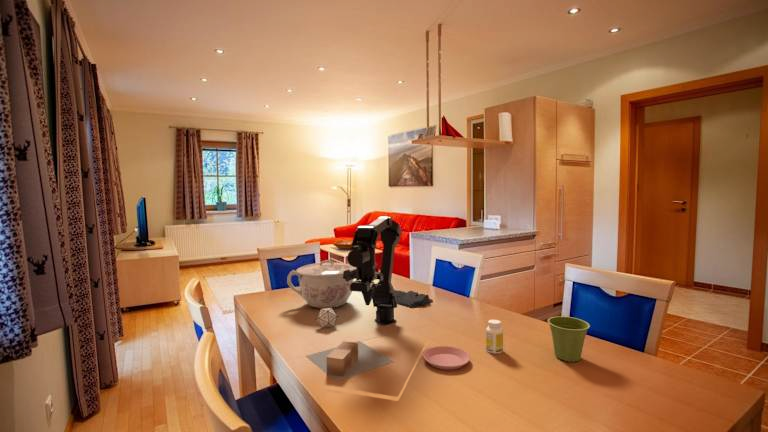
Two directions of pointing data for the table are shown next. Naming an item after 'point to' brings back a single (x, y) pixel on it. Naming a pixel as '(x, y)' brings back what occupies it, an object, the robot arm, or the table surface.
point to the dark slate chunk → (411, 299)
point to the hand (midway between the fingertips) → (367, 305)
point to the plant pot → (568, 337)
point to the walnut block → (342, 358)
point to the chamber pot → (323, 284)
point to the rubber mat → (365, 362)
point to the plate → (446, 357)
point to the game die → (326, 317)
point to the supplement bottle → (494, 337)
